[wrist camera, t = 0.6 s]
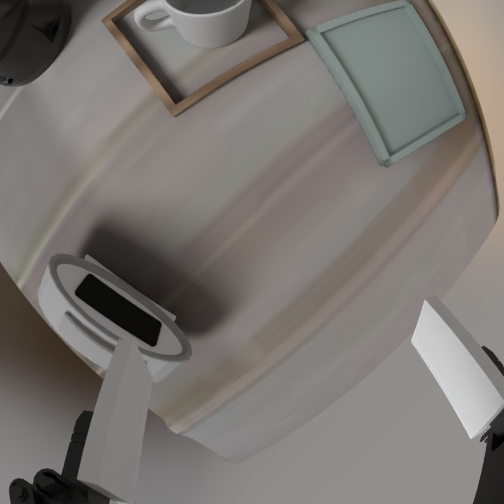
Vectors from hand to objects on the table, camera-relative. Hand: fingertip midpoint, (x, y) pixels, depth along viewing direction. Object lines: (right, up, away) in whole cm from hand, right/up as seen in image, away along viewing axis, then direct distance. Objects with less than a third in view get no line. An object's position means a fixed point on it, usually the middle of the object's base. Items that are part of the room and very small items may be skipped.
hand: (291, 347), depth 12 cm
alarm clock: (-21, -2, +28) cm, 35 cm away
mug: (-8, +31, +14) cm, 35 cm away
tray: (+18, +28, +17) cm, 37 cm away
